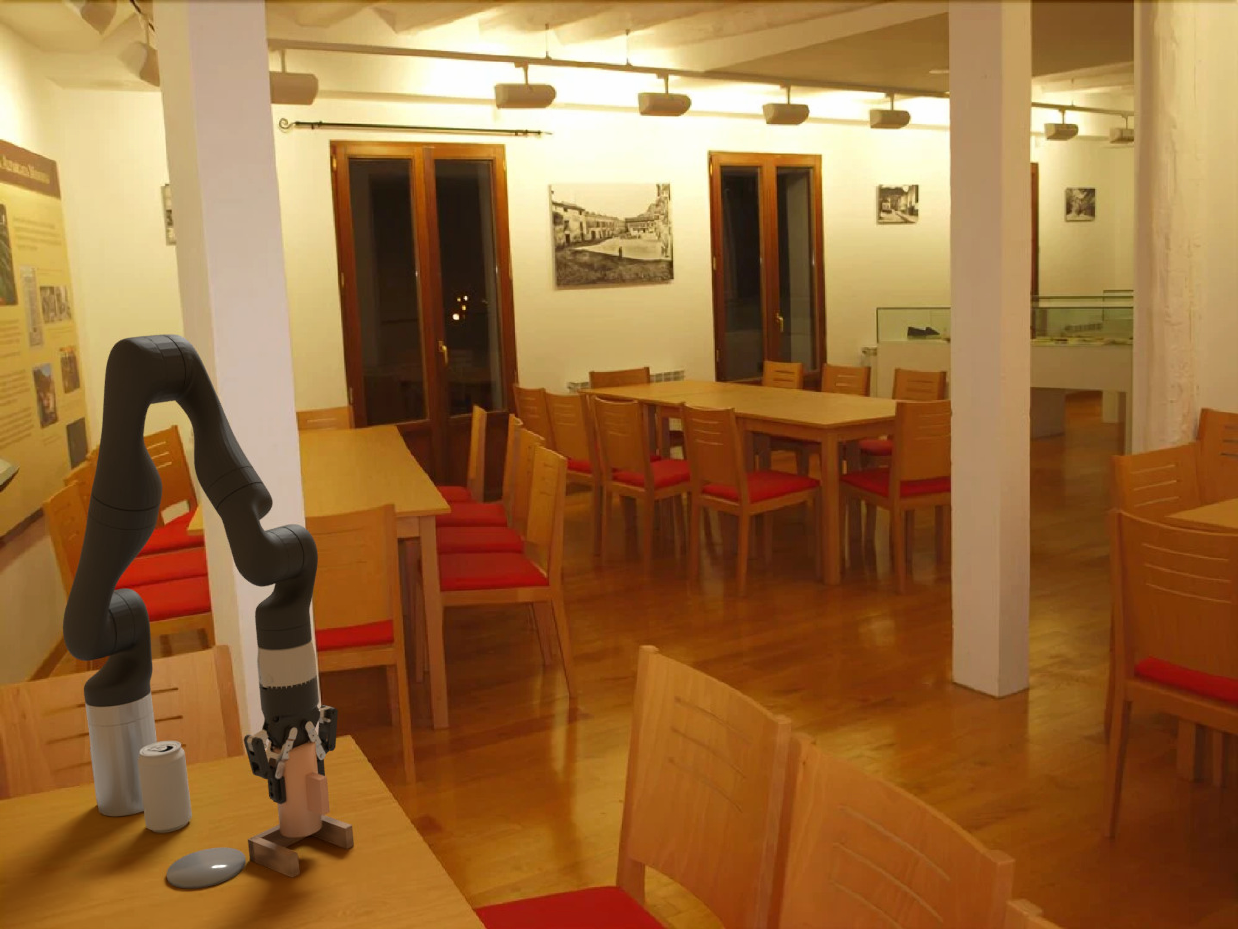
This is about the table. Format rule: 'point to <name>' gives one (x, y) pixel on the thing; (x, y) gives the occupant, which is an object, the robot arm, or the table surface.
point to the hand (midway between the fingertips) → (298, 793)
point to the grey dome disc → (206, 868)
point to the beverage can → (164, 786)
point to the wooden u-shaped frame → (272, 843)
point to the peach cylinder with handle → (303, 793)
